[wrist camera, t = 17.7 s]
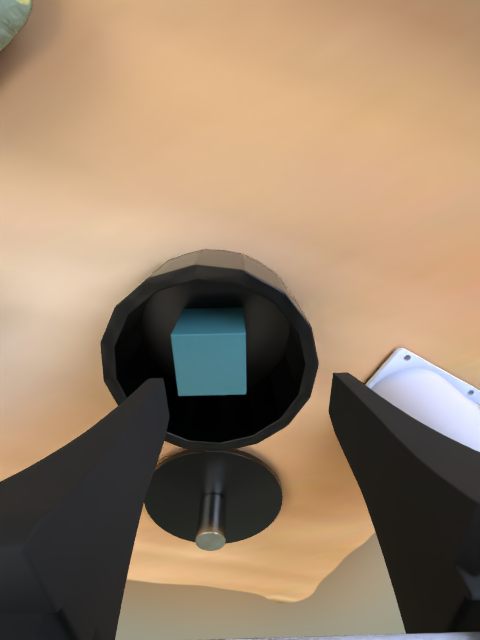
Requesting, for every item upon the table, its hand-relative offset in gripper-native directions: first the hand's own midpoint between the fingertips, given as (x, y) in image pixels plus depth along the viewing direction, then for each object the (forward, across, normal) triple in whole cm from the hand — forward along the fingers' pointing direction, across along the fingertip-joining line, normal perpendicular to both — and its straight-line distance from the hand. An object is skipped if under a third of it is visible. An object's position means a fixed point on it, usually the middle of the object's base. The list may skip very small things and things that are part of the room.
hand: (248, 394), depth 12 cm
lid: (+9, +3, +20) cm, 22 cm away
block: (+9, +2, +2) cm, 10 cm away
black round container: (+10, +2, +2) cm, 10 cm away
